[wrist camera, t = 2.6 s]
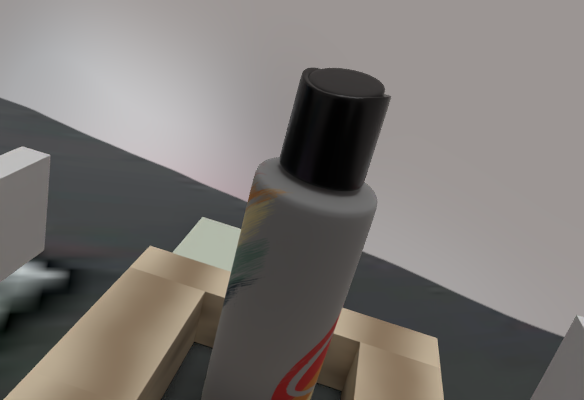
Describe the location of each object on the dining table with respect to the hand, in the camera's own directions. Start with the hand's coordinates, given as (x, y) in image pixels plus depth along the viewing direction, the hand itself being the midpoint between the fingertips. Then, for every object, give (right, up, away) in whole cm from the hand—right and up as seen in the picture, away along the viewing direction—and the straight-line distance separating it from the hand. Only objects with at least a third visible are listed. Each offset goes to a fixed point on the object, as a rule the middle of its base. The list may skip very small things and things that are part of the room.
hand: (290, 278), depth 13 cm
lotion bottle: (-2, -11, +17) cm, 20 cm away
